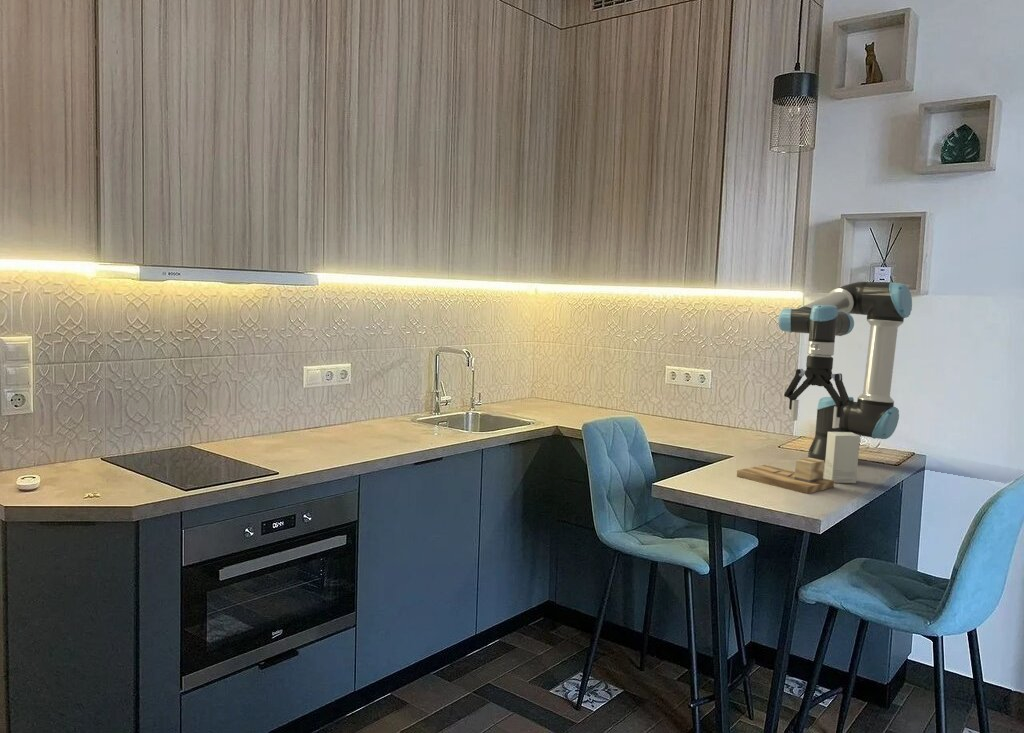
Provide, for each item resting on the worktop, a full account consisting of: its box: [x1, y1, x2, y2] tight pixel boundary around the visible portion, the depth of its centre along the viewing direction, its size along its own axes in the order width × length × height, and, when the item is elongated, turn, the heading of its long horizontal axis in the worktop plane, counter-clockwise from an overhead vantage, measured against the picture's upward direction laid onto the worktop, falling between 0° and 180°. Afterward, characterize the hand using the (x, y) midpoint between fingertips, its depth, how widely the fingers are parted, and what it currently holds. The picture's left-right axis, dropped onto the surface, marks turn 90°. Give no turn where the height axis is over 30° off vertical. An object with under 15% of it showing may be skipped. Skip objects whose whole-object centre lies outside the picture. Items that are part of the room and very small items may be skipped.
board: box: [736, 464, 835, 495], centre depth 247 cm, size 16×24×2 cm, turn 41°
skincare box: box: [823, 432, 861, 484], centre depth 251 cm, size 8×7×16 cm
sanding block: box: [794, 457, 825, 483], centre depth 242 cm, size 8×5×6 cm, turn 131°
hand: (814, 424), depth 243 cm, fingers open, 13 cm apart
